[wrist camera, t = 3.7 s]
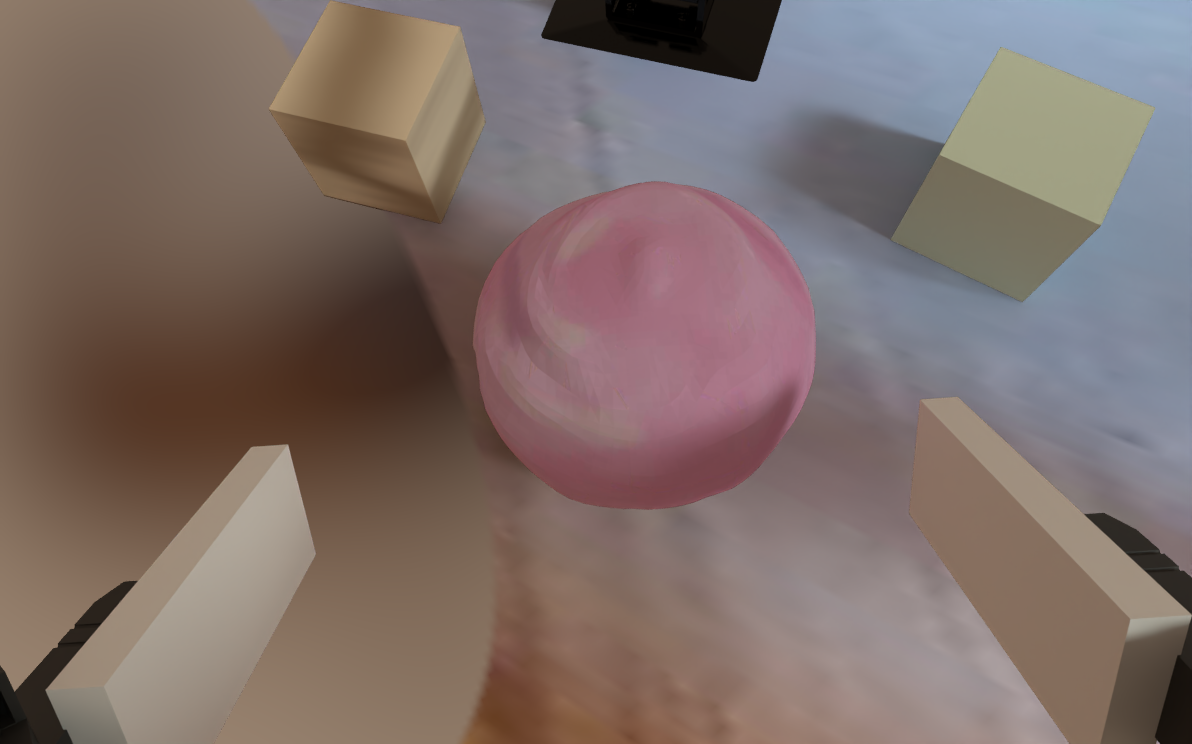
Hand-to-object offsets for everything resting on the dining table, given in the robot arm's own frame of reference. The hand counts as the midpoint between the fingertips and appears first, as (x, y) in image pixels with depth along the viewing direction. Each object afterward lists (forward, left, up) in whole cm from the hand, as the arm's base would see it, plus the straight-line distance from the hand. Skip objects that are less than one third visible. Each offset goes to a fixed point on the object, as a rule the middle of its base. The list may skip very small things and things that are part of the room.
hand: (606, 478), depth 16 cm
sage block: (-10, -15, -9) cm, 20 cm away
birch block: (+12, -12, -9) cm, 20 cm away
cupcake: (0, -4, -9) cm, 10 cm away
